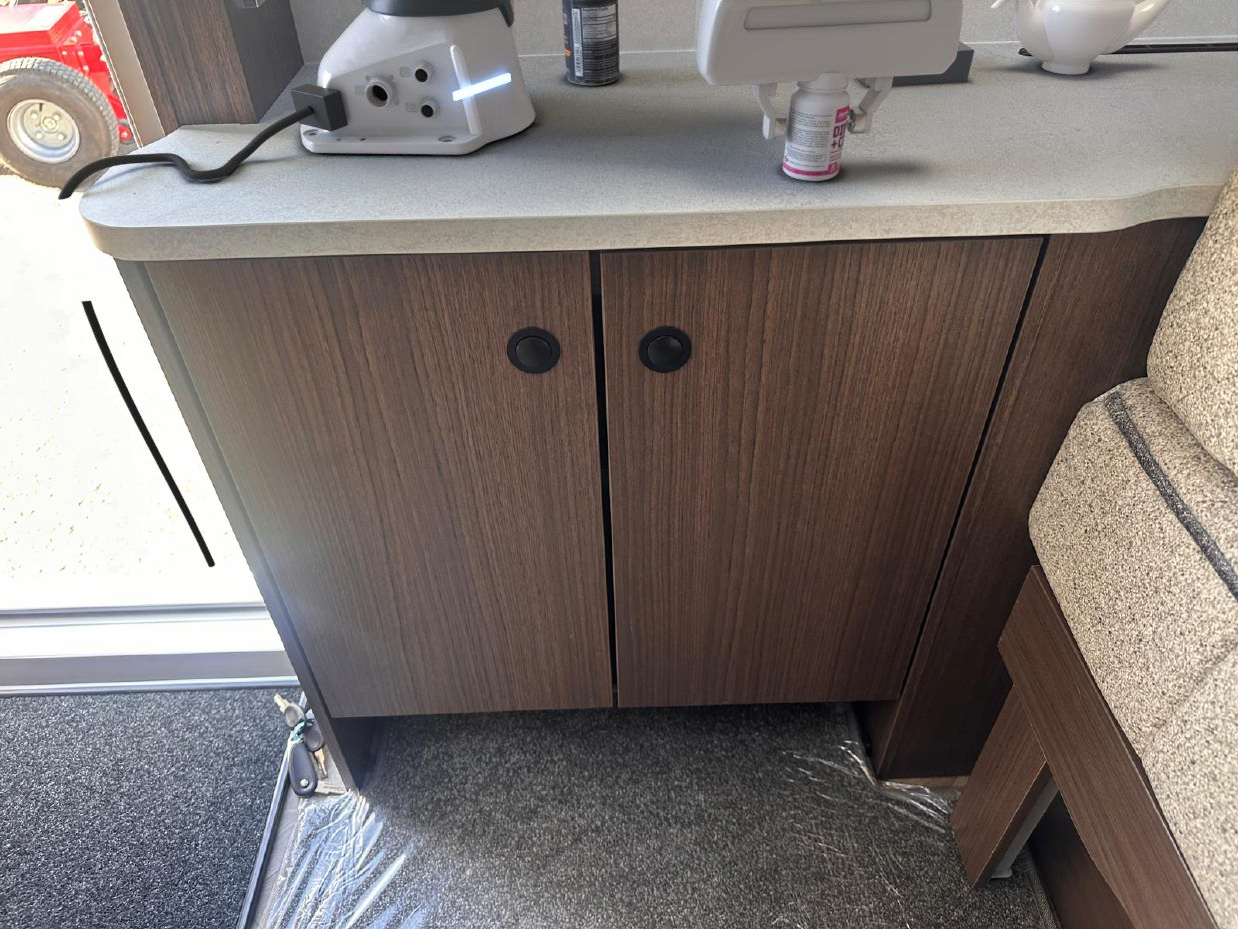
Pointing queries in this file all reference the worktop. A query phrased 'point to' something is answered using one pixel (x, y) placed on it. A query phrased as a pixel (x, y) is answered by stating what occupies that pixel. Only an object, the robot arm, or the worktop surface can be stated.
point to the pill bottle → (816, 128)
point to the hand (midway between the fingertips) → (815, 134)
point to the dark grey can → (591, 41)
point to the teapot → (1079, 29)
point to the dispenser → (951, 75)
